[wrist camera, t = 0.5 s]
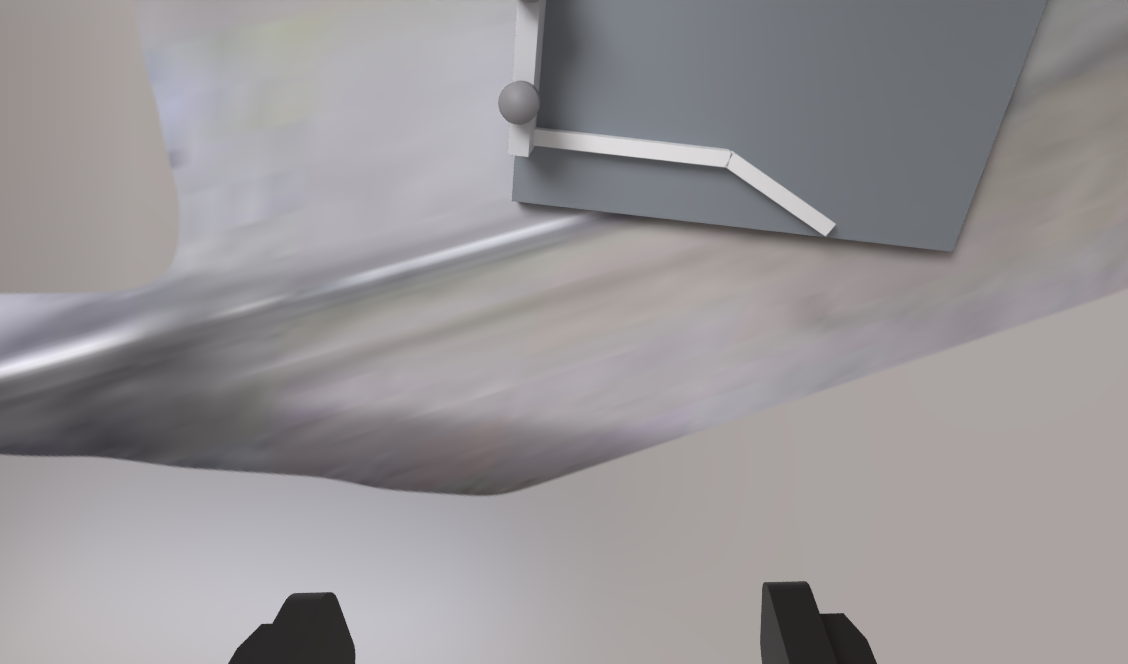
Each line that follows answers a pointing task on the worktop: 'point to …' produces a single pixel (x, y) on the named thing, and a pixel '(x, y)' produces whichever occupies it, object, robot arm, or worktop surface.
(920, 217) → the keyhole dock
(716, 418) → the worktop surface
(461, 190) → the worktop surface
